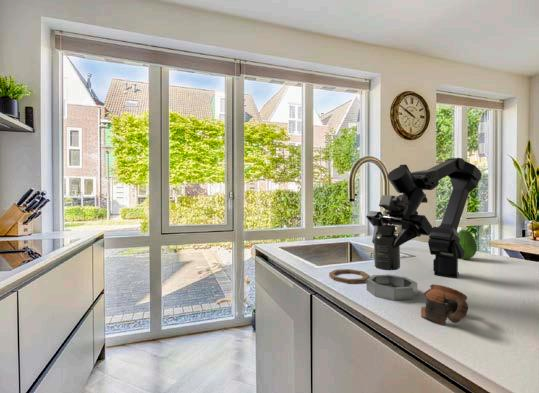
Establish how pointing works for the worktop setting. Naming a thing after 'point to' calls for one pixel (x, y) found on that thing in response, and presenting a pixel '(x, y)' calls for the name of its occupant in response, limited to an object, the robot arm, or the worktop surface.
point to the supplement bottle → (386, 249)
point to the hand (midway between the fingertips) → (383, 244)
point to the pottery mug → (438, 308)
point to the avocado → (467, 244)
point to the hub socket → (400, 291)
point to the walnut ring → (345, 280)
